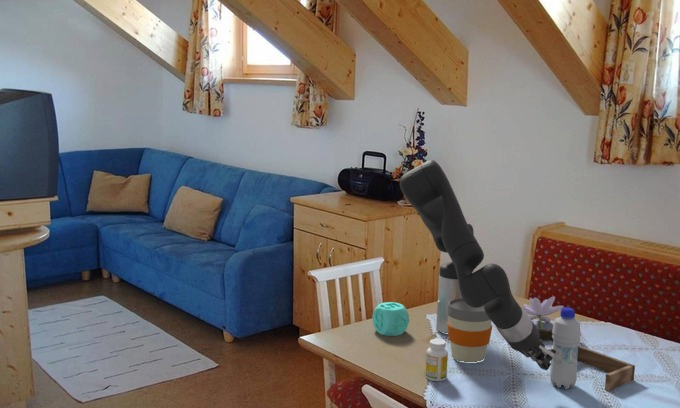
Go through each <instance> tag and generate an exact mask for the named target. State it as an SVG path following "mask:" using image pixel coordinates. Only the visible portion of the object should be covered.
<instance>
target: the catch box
mask: <svg viewBox="0 0 680 408" xmlns="http://www.w3.org/2000/svg"><path fill="white" fill-rule="evenodd" d="M577 362H579V363H581V364H584V365H587V366H590V367H593V368H595V369H597V370H600V371H603V372H606V374H605V382H604V390H605V391H607V392H610V391H612V390H614V389H616V388H619V387H621V386H625V385H627V384H629V383H631V382H634V380H635V371H636V365H634V364H631V363H629V362H626V361H623V360H620V359H617V358H616V357H615V358H614V357H612V356H609V355H606V354H603V353H600V352H598V351H595V350H592V349H589V348H587V347H584V346H581V345H579V344H578V355H577ZM550 363H551V364H552V360H551V361H550Z"/></svg>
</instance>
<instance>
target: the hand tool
mask: <svg viewBox="0 0 680 408" xmlns="http://www.w3.org/2000/svg"><path fill="white" fill-rule="evenodd" d="M537 328H538V327H537ZM538 330H539V335H540V341H550V342H553V338H552V335H553V333H552V330H553V329H550V328H549V329H548V328H543V329H541V327H540V328H538ZM579 344H580V342H579V343H578V345H579Z"/></svg>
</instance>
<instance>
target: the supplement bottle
mask: <svg viewBox="0 0 680 408" xmlns="http://www.w3.org/2000/svg"><path fill="white" fill-rule="evenodd" d="M446 347H447V342H446V341H445V340H444V339H441V338H432V339H430V340H429V347H428V349H426V359H425V374H424V375H425V378H426V379H427V380H429V381H433V382H442V381H444V380H446V379H447V374H448V360H449V359H448V358H449V354H448V353H449V352H448V350H447V349H446Z"/></svg>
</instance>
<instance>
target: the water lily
mask: <svg viewBox="0 0 680 408" xmlns="http://www.w3.org/2000/svg"><path fill="white" fill-rule="evenodd" d="M528 300H529V304H530V305H528V304H526V303H524V304H523V306H520V307H521V308H522V309H523V310H524V311H525V312H526V313H527V315H528V316H529V317H530V319H531V320H532V321H533V320H535V319H538V320H539V325H540V329H544V326H543V322H545V323H550V322H551V317H549V315H553V314H555V313H557V312H558V311H561V309H562V308H565V306H564V305H556V306H553V304H554V302H555V300H556V296H551V297H549V298H548V299H544V300H543V301H542V302H541V300H540V299H539V298H538V297H534V298H532V297H529V299H528ZM552 306H553V307H552Z"/></svg>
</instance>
